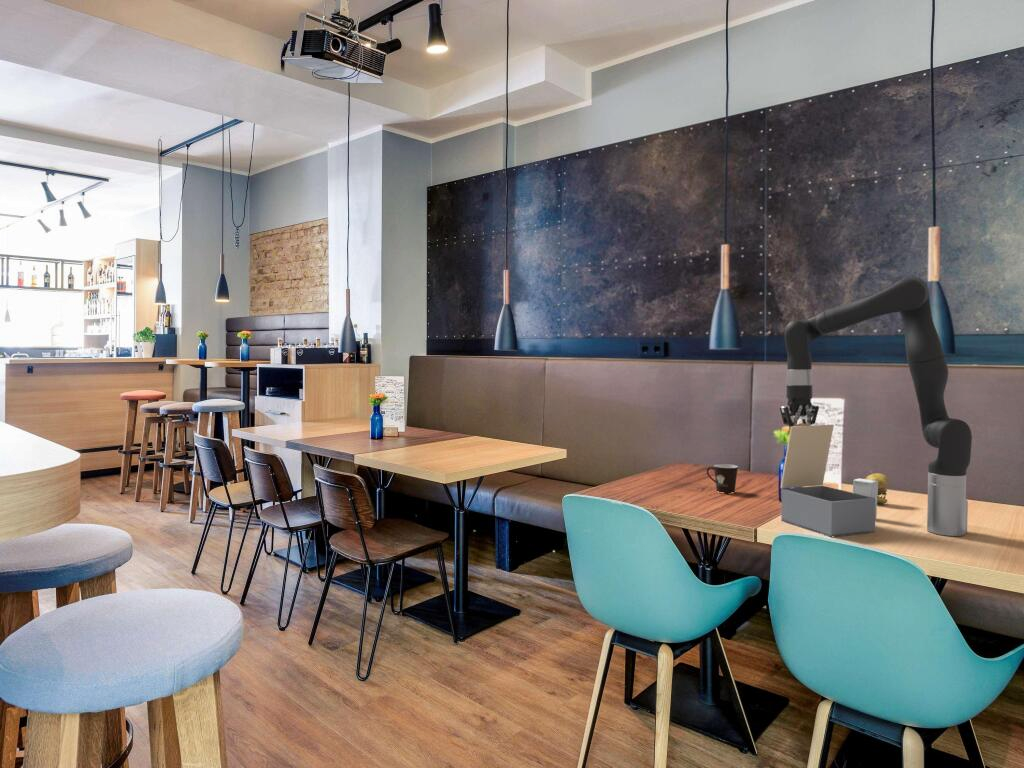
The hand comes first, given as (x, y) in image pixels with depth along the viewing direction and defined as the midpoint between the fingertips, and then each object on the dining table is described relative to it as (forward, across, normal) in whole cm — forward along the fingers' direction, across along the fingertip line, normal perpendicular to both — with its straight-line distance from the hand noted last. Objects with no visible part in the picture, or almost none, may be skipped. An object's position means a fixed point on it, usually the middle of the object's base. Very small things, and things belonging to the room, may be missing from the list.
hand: (799, 437), depth 208 cm
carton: (+26, 0, +11) cm, 28 cm away
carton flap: (+6, 0, +4) cm, 7 cm away
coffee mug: (+25, -4, -43) cm, 50 cm away
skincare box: (+26, -19, +7) cm, 33 cm away
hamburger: (+25, -39, -7) cm, 47 cm away
